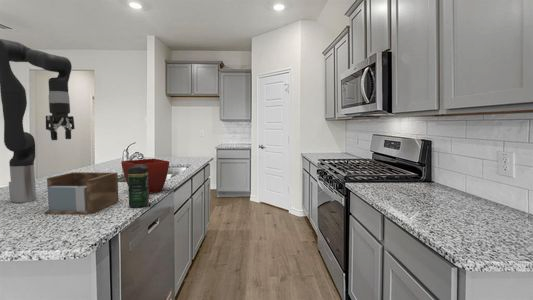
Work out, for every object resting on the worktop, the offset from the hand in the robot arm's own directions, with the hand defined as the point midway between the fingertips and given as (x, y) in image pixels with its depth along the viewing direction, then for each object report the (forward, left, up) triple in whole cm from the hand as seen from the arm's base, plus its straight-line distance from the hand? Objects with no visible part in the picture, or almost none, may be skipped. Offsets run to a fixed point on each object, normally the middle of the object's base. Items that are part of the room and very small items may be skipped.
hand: (61, 139), depth 135 cm
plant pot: (+22, +33, -30) cm, 50 cm away
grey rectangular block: (+8, -8, -29) cm, 31 cm away
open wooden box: (+8, 0, -30) cm, 31 cm away
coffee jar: (+32, +4, -30) cm, 44 cm away
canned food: (+27, +16, -30) cm, 44 cm away
